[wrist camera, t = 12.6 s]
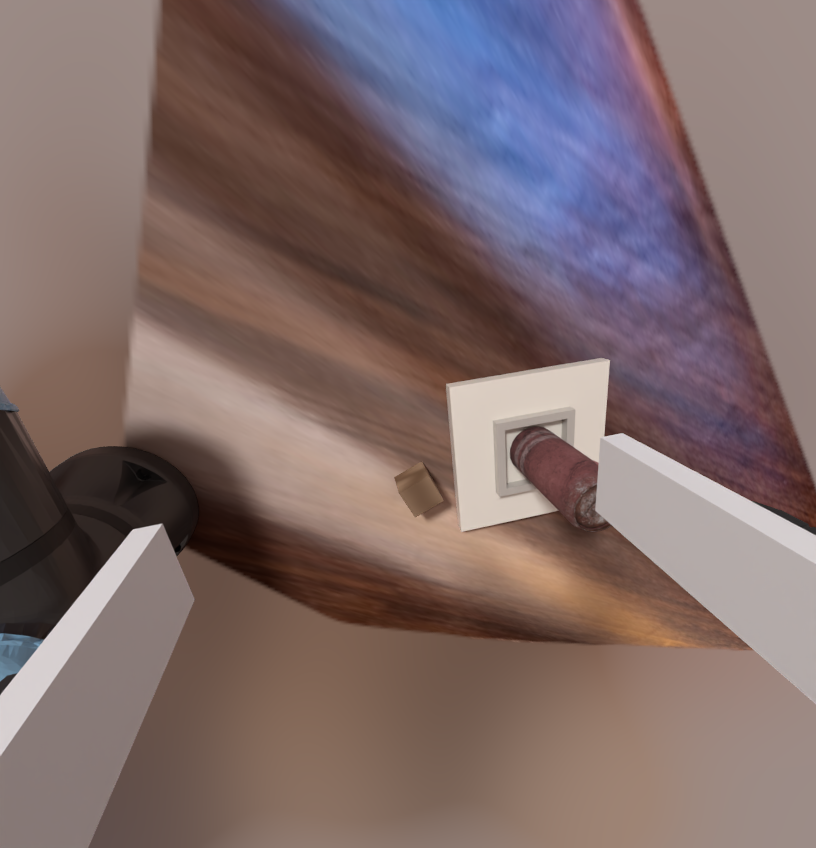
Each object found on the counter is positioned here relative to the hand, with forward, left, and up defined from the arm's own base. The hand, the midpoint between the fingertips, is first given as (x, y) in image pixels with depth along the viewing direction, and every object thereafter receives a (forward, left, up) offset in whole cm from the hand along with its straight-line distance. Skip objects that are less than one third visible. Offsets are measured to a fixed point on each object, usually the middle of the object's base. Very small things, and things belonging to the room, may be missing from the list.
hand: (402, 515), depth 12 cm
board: (+20, -16, -33) cm, 42 cm away
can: (+20, -15, -31) cm, 40 cm away
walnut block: (+5, -18, -33) cm, 38 cm away
